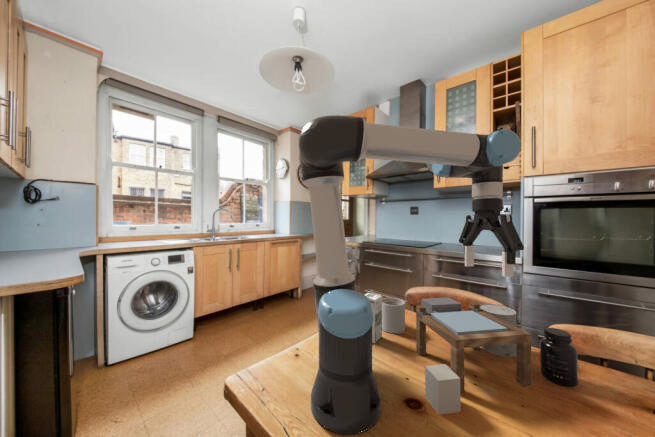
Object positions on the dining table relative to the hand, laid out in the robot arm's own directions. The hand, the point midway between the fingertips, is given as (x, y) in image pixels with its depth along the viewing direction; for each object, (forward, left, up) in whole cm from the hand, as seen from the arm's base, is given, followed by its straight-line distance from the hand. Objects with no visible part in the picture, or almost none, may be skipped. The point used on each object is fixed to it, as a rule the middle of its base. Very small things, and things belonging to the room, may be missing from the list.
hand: (486, 270), depth 70 cm
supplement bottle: (+10, -11, -26) cm, 30 cm away
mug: (-19, +23, -26) cm, 39 cm away
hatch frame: (-9, -3, -25) cm, 27 cm away
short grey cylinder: (+7, +4, -26) cm, 27 cm away
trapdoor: (-9, +1, -15) cm, 18 cm away
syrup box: (-30, +16, -26) cm, 43 cm away
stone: (-24, -14, -25) cm, 38 cm away
